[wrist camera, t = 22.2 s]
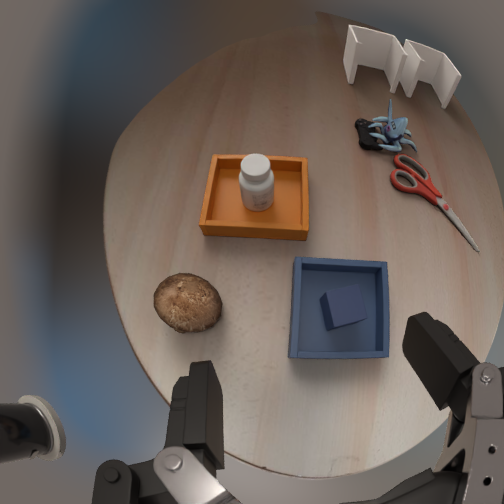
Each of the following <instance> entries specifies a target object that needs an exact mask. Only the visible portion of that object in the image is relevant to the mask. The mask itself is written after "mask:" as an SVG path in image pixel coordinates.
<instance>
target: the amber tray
mask: <svg viewBox="0 0 504 504" xmlns="http://www.w3.org/2000/svg"><path fill="white" fill-rule="evenodd" d="M246 156H248V155H213V157H212V161H211V166H210V171H209V176H208V180H207V185H206V190H205V195H204V200H203V206H202V211H201V216H200V222H199V226H200V228H201V230H202V232H203V234H204V235H211V236H231V237H250V238H268V239H285V240H302V241H306V238H307V235H308V231H309V197H308V162H307V158H302V157H287V156H267V155H264V156H266V157H267V158H268V159H269V161H270V169H271V170H272V172H273V174H274V200H273V203H272V205H271V206H270V207H269V208H268V209H266V210H264V211H260V212H255V211H251V210H249V209H247V208H246V207H245V206H244V204H243V202H242V197H241V191H240V185H239V174H240V172H241V162H242V160H243V159H244V158H245V157H246Z"/></svg>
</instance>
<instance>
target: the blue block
mask: <svg viewBox="0 0 504 504" xmlns="http://www.w3.org/2000/svg"><path fill="white" fill-rule="evenodd" d="M319 300H320V304H321V308H322V312H323V317H324V321H325V326H326V330H327V331H328V330H332V329H336V328H340V327H344V326H348V325H352V324H355V323H358V322H361V321H363V320H365V319H367V318H368V317H367V313H366V309H365V305H364V301H363V297H362V293H361V289H360V286H359V284H356V285H352V286H348V287H344V288H340V289H335V290H331V291H326V292H325V293H324V295H323V296H322V297H321V298H320V299H319Z"/></svg>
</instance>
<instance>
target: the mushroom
mask: <svg viewBox="0 0 504 504" xmlns="http://www.w3.org/2000/svg"><path fill="white" fill-rule="evenodd" d="M154 308H155V310H156V312H157V314H158V315H159V317H160V318H161V319H162V320H163V321H164V322H165V323H166V324H167V325H169V326H170V327H171V328H174V330H175V331H177V332H179V333H185V332H200V331H203V330H205V329H208V328H210V327H212V326H213V325H214V324H215V323H216V321H217V320H218V319H219V318H220V316H221V311H222V301H221V298H220V296H219V294H218V292H217V290H216V289H215V288H214V287H213V286H212V285H211V284H210V283H209V282H208V281H206V280H204V279H203V278H201V277H199V276H196V275H193V274H190V273H179V274H175V275H172V276H169V277H168V278H166V279H165V280H164V281H162V282H161V283H160V284H159V286H158V288H157V289H156V291H155V293H154Z"/></svg>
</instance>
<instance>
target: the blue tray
mask: <svg viewBox="0 0 504 504" xmlns="http://www.w3.org/2000/svg"><path fill="white" fill-rule="evenodd" d="M356 284H359V286H360V289H361V293H362V297H363V301H364V305H365V309H366V313H367V317H368V318H367V319H365V320H363V321H361V322H358V323H355V324H352V325H348V326H344V327H340V328H336V329H332V330H328V331H327V330H326V326H325V321H324V317H323V312H322V308H321V304H320V300H319V299H320V298H321V297H322V296H323V295H324V293H325V292H326V291H331V290H335V289H340V288H344V287H348V286H352V285H356ZM385 357H389V287H388V270H387V262H381V261H363V260H346V259H328V258H311V257H295V259H294V263H293V278H292V299H291V317H290V334H289V348H288V358H310V359H360V358H385Z"/></svg>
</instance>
